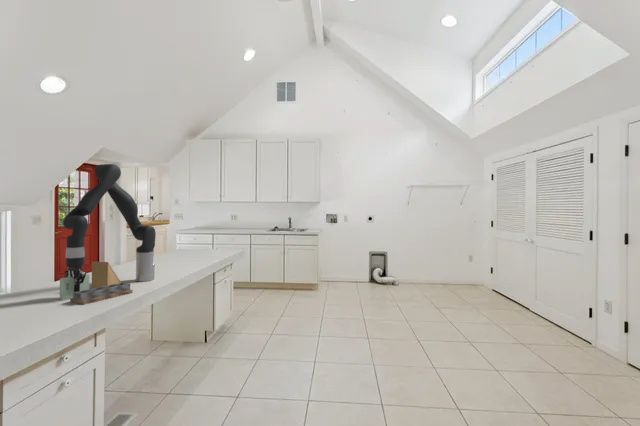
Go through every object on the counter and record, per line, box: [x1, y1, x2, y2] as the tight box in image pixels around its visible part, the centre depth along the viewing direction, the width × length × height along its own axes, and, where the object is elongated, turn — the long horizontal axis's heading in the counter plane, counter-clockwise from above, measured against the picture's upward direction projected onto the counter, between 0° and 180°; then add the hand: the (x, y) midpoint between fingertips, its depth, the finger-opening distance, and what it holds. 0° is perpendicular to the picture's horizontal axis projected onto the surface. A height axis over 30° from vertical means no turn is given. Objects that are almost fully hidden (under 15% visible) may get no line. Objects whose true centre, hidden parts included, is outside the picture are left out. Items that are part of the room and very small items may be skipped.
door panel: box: [59, 273, 90, 301], centre depth 163 cm, size 12×3×10 cm, turn 157°
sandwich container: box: [91, 261, 123, 289], centre depth 186 cm, size 9×15×15 cm, turn 4°
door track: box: [69, 282, 133, 305], centre depth 163 cm, size 24×10×4 cm, turn 157°
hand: (74, 291), depth 163 cm, fingers closed on door panel, 2 cm apart
